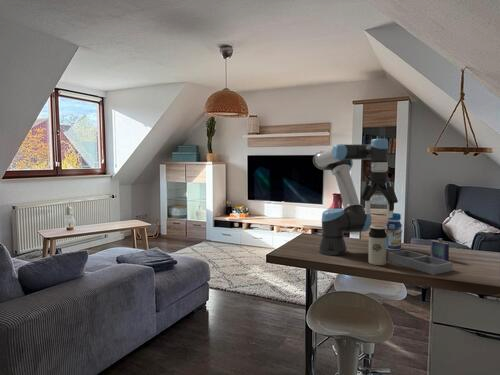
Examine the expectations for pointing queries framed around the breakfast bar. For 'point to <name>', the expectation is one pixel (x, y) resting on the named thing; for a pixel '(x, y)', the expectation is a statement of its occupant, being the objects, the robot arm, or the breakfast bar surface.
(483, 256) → the breakfast bar surface
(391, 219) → the beverage bottle
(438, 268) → the grey divided tray
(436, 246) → the flask
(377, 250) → the travel mug
